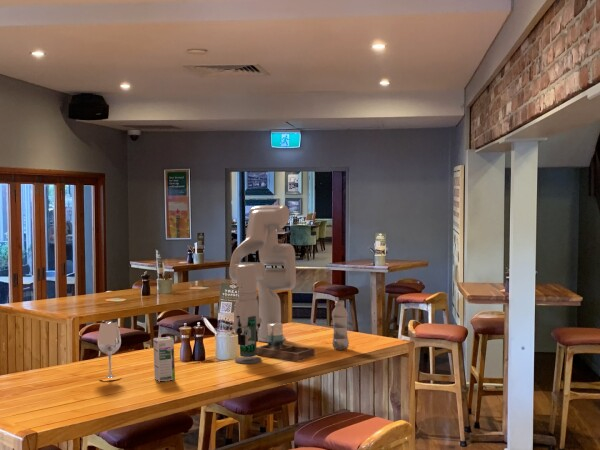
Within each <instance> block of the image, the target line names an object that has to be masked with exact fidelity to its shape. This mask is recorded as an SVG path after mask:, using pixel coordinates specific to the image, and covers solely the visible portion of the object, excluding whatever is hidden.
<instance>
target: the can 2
mask: <svg viewBox="0 0 600 450" xmlns="http://www.w3.org/2000/svg"><path fill="white" fill-rule="evenodd" d="M283 326H284V324H283V323H282V322H281V323H270V324H268V342H267V344H268V349H274V350H278V349H282V348H283V344H284V340H283V336H284V334H283V332H284V330H283Z"/></svg>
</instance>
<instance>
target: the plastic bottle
mask: <svg viewBox="0 0 600 450" xmlns="http://www.w3.org/2000/svg"><path fill="white" fill-rule="evenodd" d="M334 306H335V307H334V308H333V309H332V311H331V318H332V325H333V335H332V336H333V337H332V343H331V344H332V347H333V348H334V350H339V351H343V350H348V348H349V344H350V343H349V342H350V341H349V338H348V316H349V313H348V310H347V309H346V307H345V300H342V299H341V300H340V299H339V300H335V301H334Z"/></svg>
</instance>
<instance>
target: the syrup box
mask: <svg viewBox="0 0 600 450" xmlns="http://www.w3.org/2000/svg"><path fill="white" fill-rule="evenodd" d="M152 340H153V341H152V342H153V343H152V344H153V365H154V366H153V367H154V368H153V369H154V372H153V373H154V380H155V379H156V380H155V381H157V380H158V381H159V382H158V381H157V382H158V383H161V382H160V381H165V382H170V380H172V381H175V380H176V368H175V343H174V342H175V340H174V338H173V337H172V336H165V337H154V338H153V339H152Z"/></svg>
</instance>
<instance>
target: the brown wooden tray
mask: <svg viewBox="0 0 600 450" xmlns="http://www.w3.org/2000/svg"><path fill="white" fill-rule="evenodd" d="M315 349H316V348H314V347H306V346H298V345H291V344H286V343H285V344H284V343H283V348H282V349H278V350H274V349H268V343H267V344H265V345H261V346H257V355H256V356H259V357H265V358H266V357H268V358H273V359H279V360H280V359H281V360H285V361H291V362H296V363H297V362H301V361H303V360H307V359H311V358H314V357H315V355H316V353H315V352H316V350H315Z"/></svg>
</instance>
